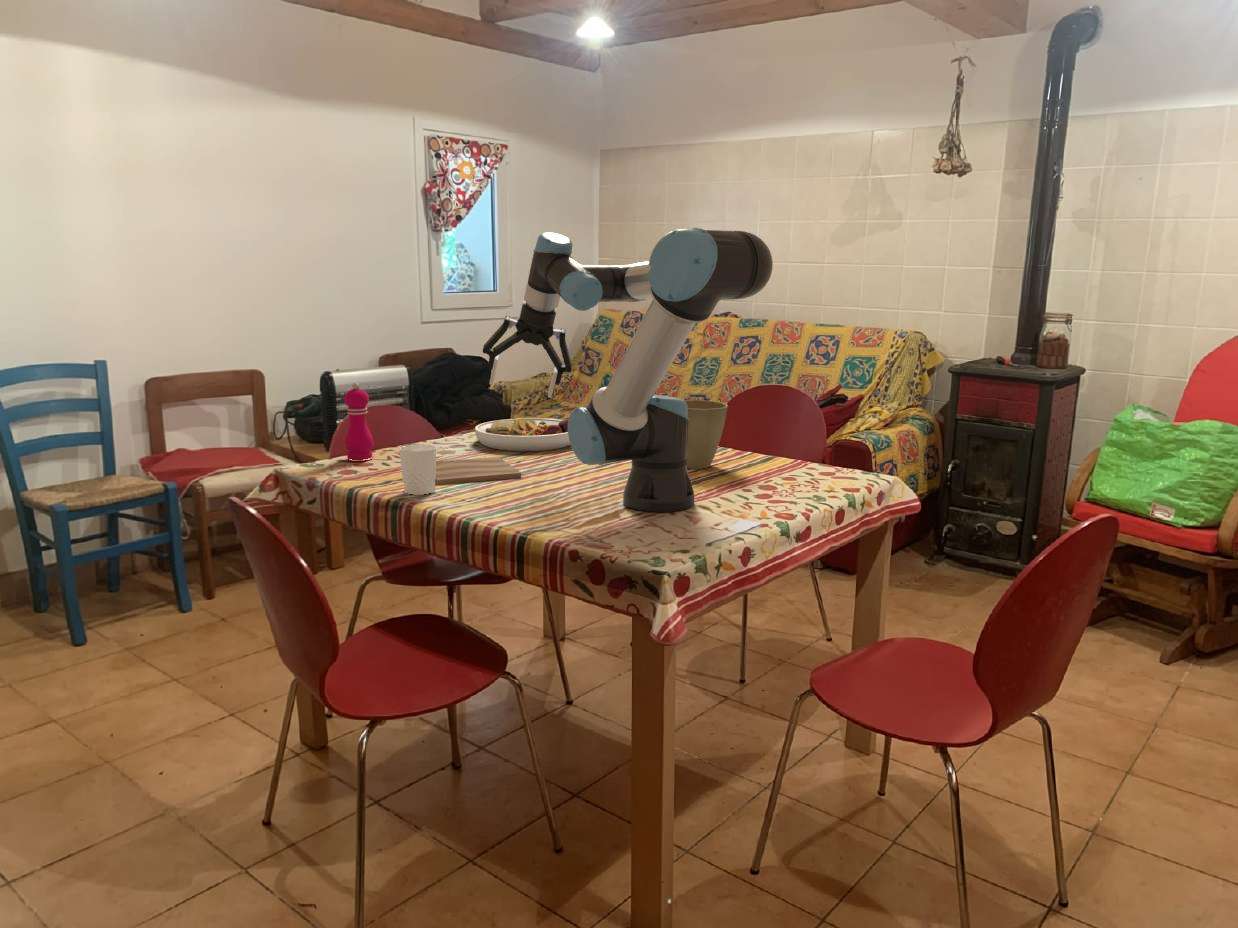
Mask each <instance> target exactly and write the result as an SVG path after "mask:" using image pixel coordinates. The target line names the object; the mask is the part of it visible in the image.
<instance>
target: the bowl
mask: <svg viewBox="0 0 1238 928" xmlns="http://www.w3.org/2000/svg"><path fill="white" fill-rule="evenodd" d="M568 419H569V418H568ZM568 419H567V418H565V419H550V418H524V417H516V418H510V419H509V418H508V419H499V420H492V421H487V422H483V423H479V424H478V425H476V426H475V427H474V433H475V437H476V439H477V441H479V443H480V444H482V446H485V447H487V448H489V449H493V450H498V449H499V451H506V450H507V451H509V452H543V451H554V450H558V449H563V448H567V447H570V446H571V445H570V441H569V435H568ZM553 449H554V450H553Z"/></svg>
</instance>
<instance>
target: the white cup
mask: <svg viewBox="0 0 1238 928" xmlns="http://www.w3.org/2000/svg"><path fill="white" fill-rule="evenodd" d="M399 457H400V468H401V477H402V482H403V491H404V492H403V493H405V492H406V493H408V494H407V495H409V494H413V495H412V496H424V494H426V495H430V494H429V493H431V494H433V493H435V492H436V483H435V479H436V462H437V447H436V446H435V445H432V444H420V443H419V444H410V445H409V444H408V445H403V446H401V447H399ZM434 491H435V492H434ZM406 493H405V494H406Z"/></svg>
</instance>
